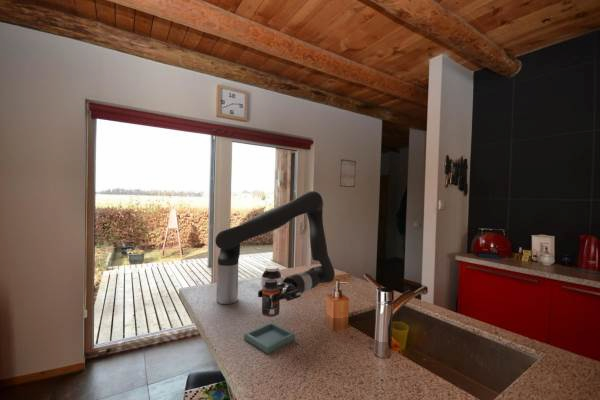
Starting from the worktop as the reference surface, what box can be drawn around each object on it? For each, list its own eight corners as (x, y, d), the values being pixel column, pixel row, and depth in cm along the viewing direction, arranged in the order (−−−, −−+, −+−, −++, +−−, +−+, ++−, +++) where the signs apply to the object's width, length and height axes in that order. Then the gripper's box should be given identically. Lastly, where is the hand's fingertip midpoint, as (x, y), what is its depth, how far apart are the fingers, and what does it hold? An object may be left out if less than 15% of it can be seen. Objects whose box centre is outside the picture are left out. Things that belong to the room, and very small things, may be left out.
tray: (244, 340, 92) (244, 333, 92) (271, 328, 101) (271, 322, 101) (267, 354, 84) (267, 347, 84) (294, 340, 93) (294, 333, 93)
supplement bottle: (276, 318, 89) (276, 283, 89) (259, 316, 90) (259, 282, 90) (281, 310, 95) (281, 278, 95) (265, 309, 96) (265, 277, 96)
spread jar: (260, 291, 140) (260, 268, 140) (266, 284, 151) (266, 263, 151) (282, 292, 138) (283, 269, 138) (287, 285, 149) (288, 264, 149)
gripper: (283, 270, 108) (251, 281, 95) (313, 277, 99) (281, 290, 86) (283, 289, 108) (250, 302, 95) (313, 298, 99) (281, 314, 86)
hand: (265, 296), depth 90 cm, fingers closed on supplement bottle, 6 cm apart
